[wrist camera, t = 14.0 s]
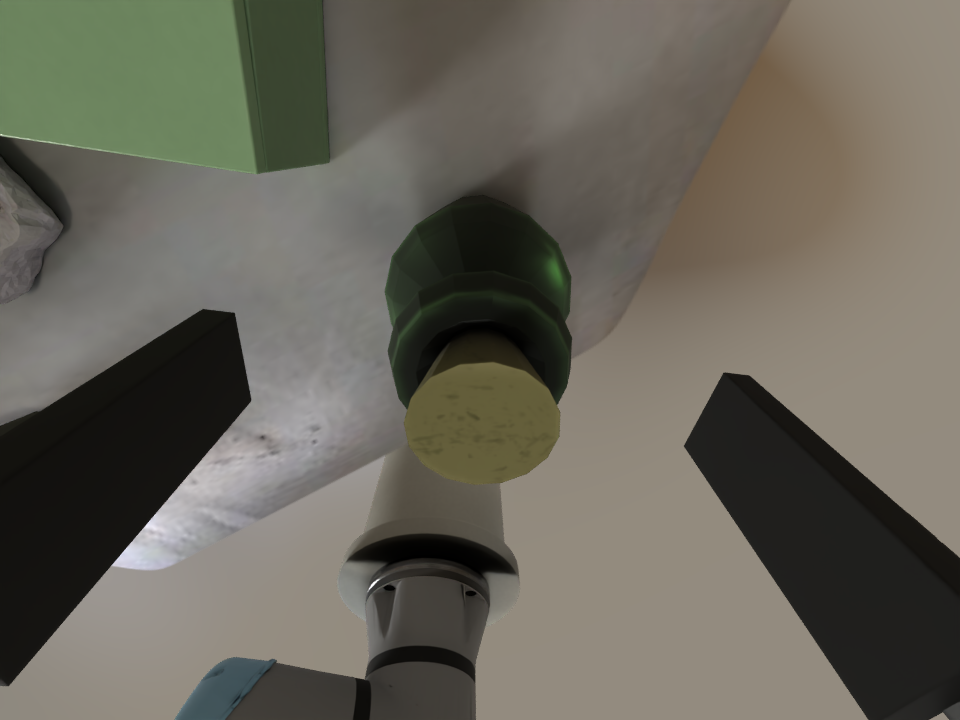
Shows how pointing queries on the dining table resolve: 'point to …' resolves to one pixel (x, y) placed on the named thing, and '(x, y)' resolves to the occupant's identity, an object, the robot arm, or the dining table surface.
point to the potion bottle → (480, 340)
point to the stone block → (22, 234)
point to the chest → (289, 81)
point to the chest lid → (132, 79)
